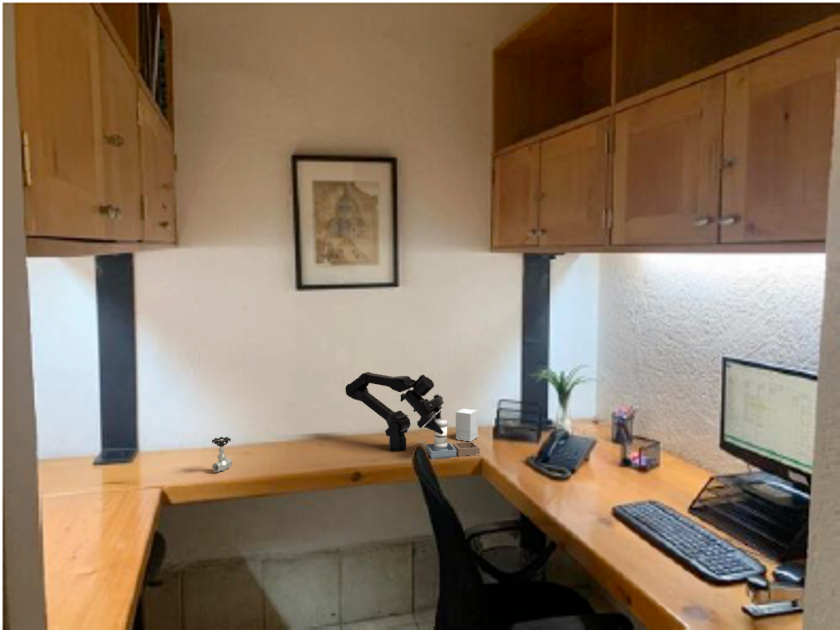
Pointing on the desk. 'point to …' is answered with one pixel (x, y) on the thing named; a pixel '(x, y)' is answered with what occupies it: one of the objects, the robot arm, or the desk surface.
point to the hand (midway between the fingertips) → (444, 431)
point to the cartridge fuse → (441, 435)
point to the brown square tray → (466, 448)
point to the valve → (221, 455)
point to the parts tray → (441, 451)
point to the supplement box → (466, 424)
